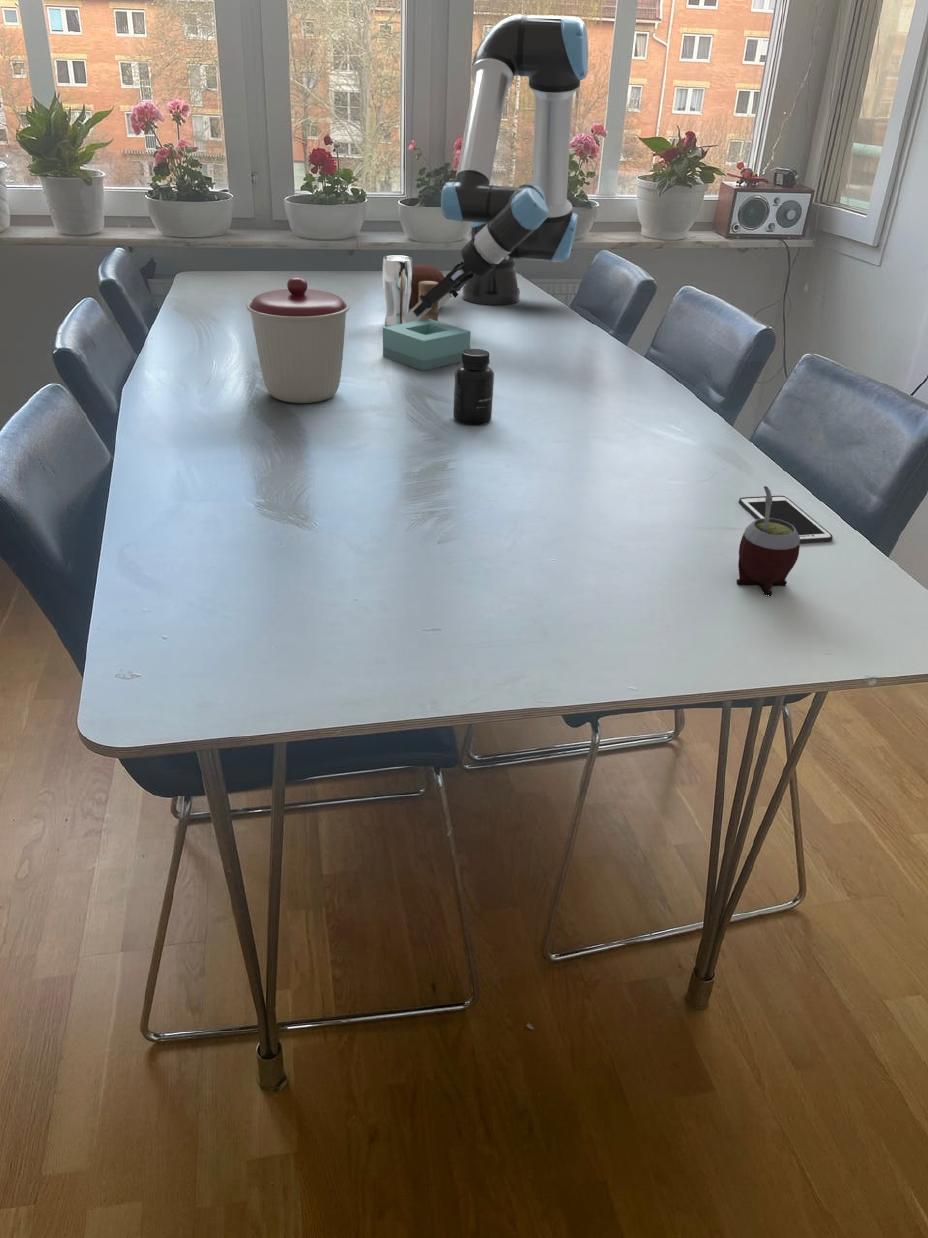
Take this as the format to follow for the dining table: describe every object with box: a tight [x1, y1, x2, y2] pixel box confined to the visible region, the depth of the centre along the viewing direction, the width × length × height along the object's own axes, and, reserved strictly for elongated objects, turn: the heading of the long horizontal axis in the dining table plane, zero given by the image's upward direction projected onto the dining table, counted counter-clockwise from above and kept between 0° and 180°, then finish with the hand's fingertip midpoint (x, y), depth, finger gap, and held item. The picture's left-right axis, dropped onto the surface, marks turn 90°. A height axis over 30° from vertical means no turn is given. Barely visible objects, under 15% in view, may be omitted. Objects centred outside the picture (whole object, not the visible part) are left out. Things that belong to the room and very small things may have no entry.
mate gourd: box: [736, 485, 801, 597], centre depth 115 cm, size 8×8×15 cm
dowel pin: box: [419, 281, 439, 321], centre depth 211 cm, size 4×4×12 cm
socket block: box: [382, 319, 472, 372], centre depth 198 cm, size 13×13×6 cm
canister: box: [245, 276, 350, 404], centre depth 170 cm, size 18×18×21 cm
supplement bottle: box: [452, 348, 495, 426], centre depth 165 cm, size 7×7×12 cm
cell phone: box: [738, 495, 834, 545], centre depth 136 cm, size 8×15×1 cm, turn 11°
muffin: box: [409, 263, 446, 310], centre depth 237 cm, size 12×11×10 cm
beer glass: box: [381, 254, 413, 327], centre depth 219 cm, size 7×7×15 cm
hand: (417, 316), depth 212 cm, fingers open, 12 cm apart
